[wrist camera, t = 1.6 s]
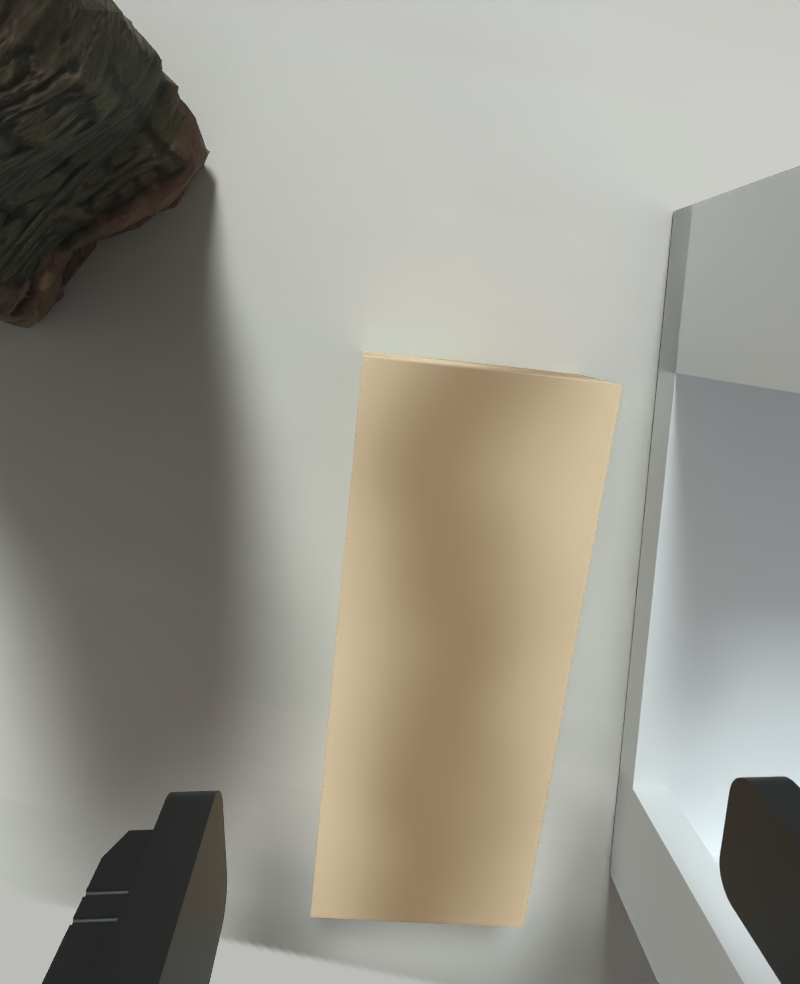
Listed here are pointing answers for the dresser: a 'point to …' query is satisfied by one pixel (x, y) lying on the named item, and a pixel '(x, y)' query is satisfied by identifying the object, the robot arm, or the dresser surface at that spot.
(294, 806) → the dresser surface
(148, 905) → the robot arm
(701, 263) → the cabinet bay
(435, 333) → the dresser surface
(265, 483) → the dresser surface
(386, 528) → the shelf board
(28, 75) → the statue
